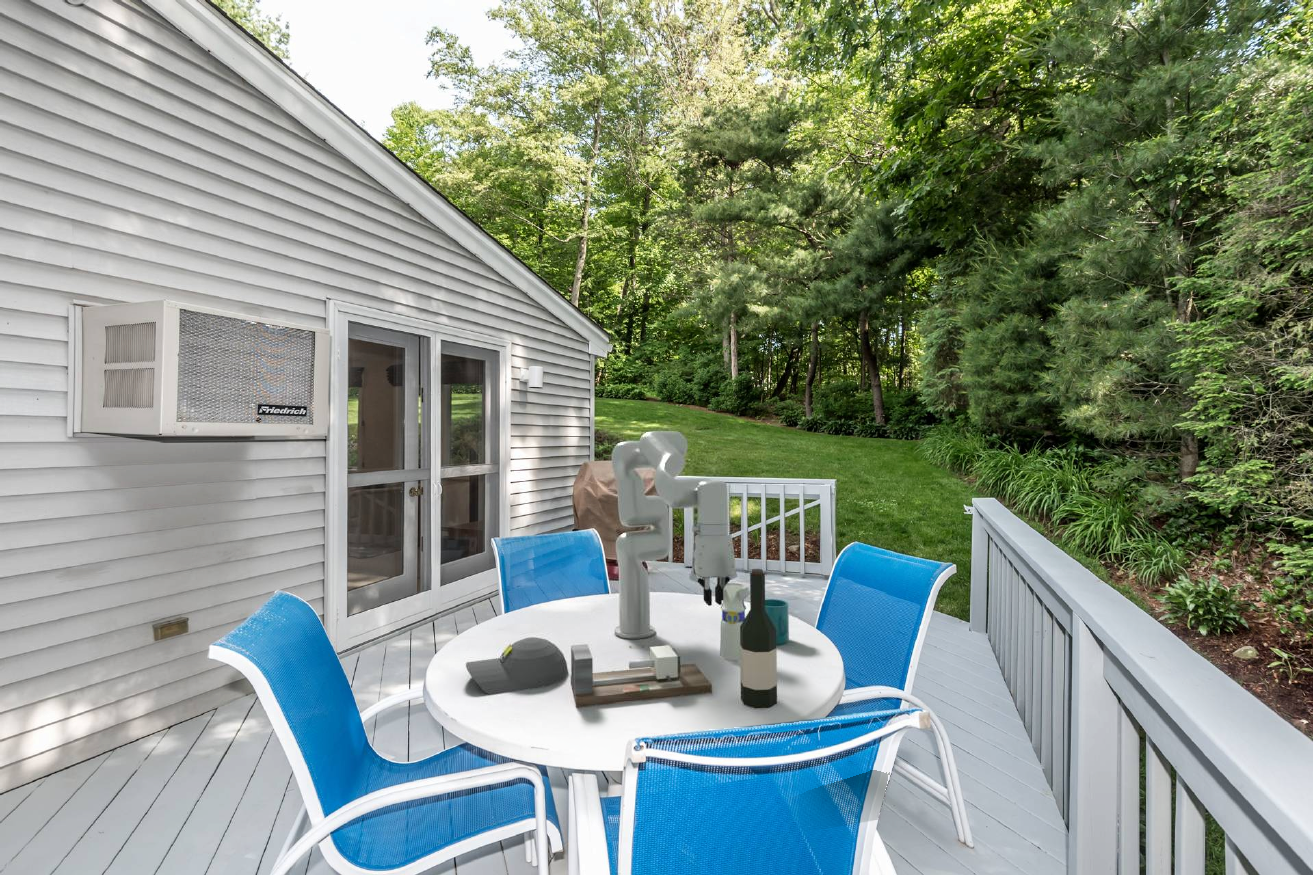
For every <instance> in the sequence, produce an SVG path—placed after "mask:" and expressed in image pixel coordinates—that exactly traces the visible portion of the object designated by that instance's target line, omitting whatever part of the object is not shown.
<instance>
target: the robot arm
mask: <svg viewBox="0 0 1313 875" xmlns="http://www.w3.org/2000/svg"><path fill="white" fill-rule="evenodd" d="M687 451H688V442H687V439H686V437H685V436H684V435H683V433H681V432H679V431H677V430H676V431H675V430H674V431H673V430H654V431H647V432H646V433H644V434H642V435H641V437H640V438H639V440H627V441H623V442H619V443H617V444H616V445H615V446H614V447H613V449H612V452H611V466H612V470H613V474H614V477H615V480H616V490H617V506H618V509H617V510H618V518H619V521H620V523H621V525H622V526H623V527H626V528H636V527H637V528H638V527H639V528H640V527H648V526H649V528H650V529H646V530H645V529H644V530H634V531H627V532H624V533H622V534H620V535H619V536H618V537H617V539H616V541H615V554H616V557H617V558H616V559H617V565H618V583H619V584H618V593H619V594H618V595H619V596H618V600H619V602H618V603H619V604H618V605H619V607H618V608H619V614H618V615H619V616H618V618H619V621H618V622H619V625H618V626H617V627H615V628H614V635H615V636H617V637H619V638H621V639H622V638H623V639H629V640H630V639H631V640H632V639H633V640H638V639H644V638H648V637H651V636H653V635H654V634H655V632H656V630H655V626H653V625H651V611H650V610H651V607H650V606H651V602H650V600H651V599H650V598H651V597H650V595H651V593H650V590H651V588H650V587H651V586H650V575H649V574H650V573H649V572H648V570H647V569H646V568H645V566H644V565H643V562H649V561H657V560H663V559H665V558H666V557H668V555H669V553H670V549H671V536H670V535H671V534H670V520H669V519H670V518H669V517H670V516H669V508H668V506H669V507H670V508H672V509H688V508H689V509H690V508H691V509H692V508H697V523H696V525H694V526H692V527H691V529H692V533H694V532H695V533H697V535H695V536H694V541H693V542H694V543H693V546H692V547H693V548H692V559H691V561H692V562H691V566H692V568H691V571H690V574H689V577H688V578H689V580H691V582H692V581H693V582H695V583H698V584H699V585H700V586H701V587H702V588H703V602H705V604H706V605H707V606H708V607H711V606H712V605H713V597H712V596H713V594H712V592H713V591H712V589H711V586H710V585H711V584H710V582H711V581H710V578H711V579H712V578H716V586H715V587H714V597H715V598H714V601H715V603H716V605H718V606H722V604H723V589H724V588H725V585H726V584H727V583H730V581H733V580H734V579H736V578H737V577H738V574H737V572H736V571H737V570H736V559H735V549H734V548H735V547H734V544H733V543H734V542H733V538H732V535H730V534H729V529H728V528H729V527H728V526H729V524H728V523H729V521H728V520H729V516H728V508H729V507H728V505H729V504H728V502H729V501H728V494H729V493H728V485H727V483H726V482H725V481H723V480H713V479H710V478H706V477H704V478H677V479H676V477H677V476H679V475H680V474H681V473H682V471H683V469H684V467H685V463H686V462H685V461H686V460H685V456H686V454H687ZM637 469H654V470H655V472H654V477H653V479H654V487H655V491H656V493H657V494H658V495H646V494H645V482H644V479H643V477H642V476H641V475H640V473H639V471H637Z"/></svg>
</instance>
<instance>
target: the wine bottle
mask: <svg viewBox="0 0 1313 875" xmlns="http://www.w3.org/2000/svg"><path fill="white" fill-rule="evenodd" d="M749 592H750V594H749V596H750V597H749V600H750V601H749V603H750V604H749V606H750V609H749V611H748V612H747V615H745V619H744V621H743V622H742V624H741V626H740V660H739V662H740V663H739V664H740V665H739V666H740V700H741V702H742V705H744V706H747V707H750V708H753V709H771V708H773V707H774V706H775V705H777V704H778V673H777V672H778V670H777V668H778V665H777V664H778V663H777V662H778V661H777V660H778V658H777V657H778V656H777V654H778V653H777V649H778V648H777V646H778V645H776V628H775V627H774V625H773V623H772V621H771V620H770V618H769V616H768V614H767V613H766V611H765V599H766V575H765V573H764V570H763V569H761V568H753V569H751V572H750V573H749Z"/></svg>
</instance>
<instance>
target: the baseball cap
mask: <svg viewBox="0 0 1313 875" xmlns="http://www.w3.org/2000/svg"><path fill="white" fill-rule="evenodd" d="M465 668H466V670H467V672H468V673H469V675H470V676H471V678H472V679H473V681H475V683H476V684H477V685H478V686H479V687H480V688H481V690H482V691H483V692H484V693H486V694H487V695H489V696H491V695H498V694H507V693H512V692H519V691H526V690H533V689H539V688H540V689H541V688H546V687H549V686H552V685H555V684H557V683H559V682H561V681H563V680H564V679H565V678H567V676H568V674H569V669H568V663H567V660H566V658H565V656H564V653H563V652H562V651H561V650H560V648H558V646H557V645H555V643H553V642H551V641H550V640H549V639H545V638H542V637H541V638H540V637H534V636H533V637H526V638H525V637H524V638H522V639H520V640H517V641H515V642H513V643H509V645H507V646H506V647H505V649H504V650H503V652H502V653H501V655H500V657H498V658H490V659H489V658H487V659H481V660H474V661H467V662H466V663H465Z"/></svg>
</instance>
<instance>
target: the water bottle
mask: <svg viewBox="0 0 1313 875" xmlns="http://www.w3.org/2000/svg"><path fill="white" fill-rule="evenodd" d="M749 596H750V589H749V587H748V586H747V585H746V584H743V583H740V582H739V583H738V582H728V583H727V584H726V585H725V588H724V589H723V600H722V605H720V609H721V622H720V646H719V648H720V650H719V657H720V656H721V657H720V658H722V659H723V658H724V659H723V660H725V661H726V660H727V661H732V660H739V661H740V626H741V624H742V622H743V621H744V619H745V617H746V612H745V611H746V609H747V606H746V605H745V601H744V600H745V599H747V598H748V597H749Z"/></svg>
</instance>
